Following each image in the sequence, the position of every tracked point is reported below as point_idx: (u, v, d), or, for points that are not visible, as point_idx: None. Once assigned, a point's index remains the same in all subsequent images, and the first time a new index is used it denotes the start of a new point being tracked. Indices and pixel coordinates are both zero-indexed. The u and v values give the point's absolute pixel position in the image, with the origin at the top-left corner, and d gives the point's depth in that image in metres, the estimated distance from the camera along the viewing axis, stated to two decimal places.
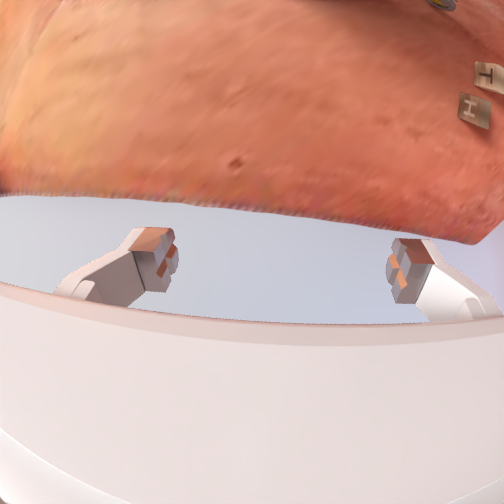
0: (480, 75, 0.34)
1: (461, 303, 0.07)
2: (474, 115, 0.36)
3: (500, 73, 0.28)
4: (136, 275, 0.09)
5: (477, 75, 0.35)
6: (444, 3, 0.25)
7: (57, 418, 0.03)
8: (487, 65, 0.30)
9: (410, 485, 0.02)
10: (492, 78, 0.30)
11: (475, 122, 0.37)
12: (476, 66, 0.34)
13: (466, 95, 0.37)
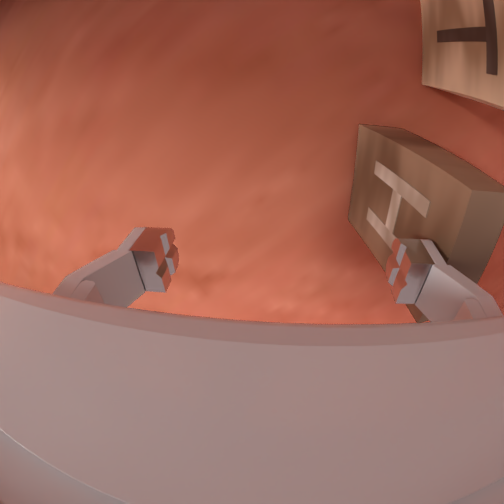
0: (443, 43, 0.08)
1: (461, 303, 0.07)
2: None
3: None
4: (136, 275, 0.09)
5: (432, 44, 0.09)
6: None
7: (57, 418, 0.03)
8: None
9: (410, 485, 0.02)
10: (497, 45, 0.04)
11: None
12: (426, 11, 0.08)
13: (383, 143, 0.11)
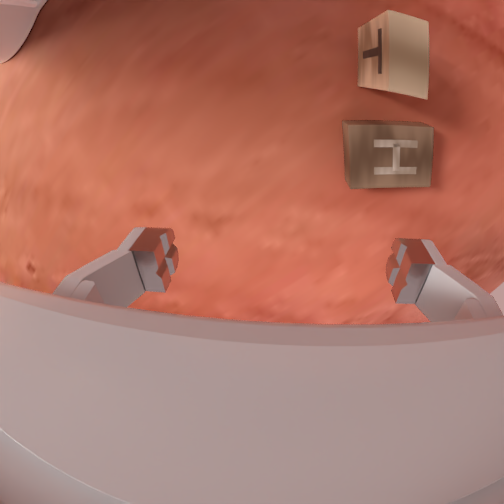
0: (365, 59, 0.18)
1: (461, 303, 0.07)
2: (415, 169, 0.22)
3: (404, 35, 0.12)
4: (136, 275, 0.09)
5: (361, 60, 0.19)
6: None
7: (57, 418, 0.03)
8: (373, 25, 0.14)
9: (410, 485, 0.02)
10: (381, 56, 0.14)
11: (420, 182, 0.23)
12: (359, 39, 0.18)
13: (378, 128, 0.21)
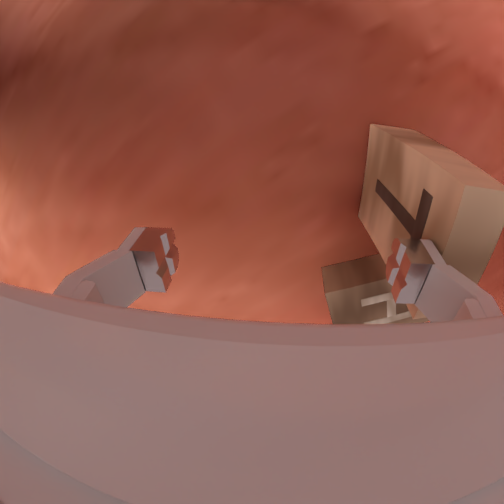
0: (380, 193, 0.14)
1: (461, 303, 0.07)
2: None
3: (471, 233, 0.07)
4: (136, 275, 0.09)
5: (371, 187, 0.14)
6: None
7: (57, 418, 0.03)
8: (411, 164, 0.10)
9: (409, 485, 0.02)
10: None
11: (422, 319, 0.19)
12: (372, 147, 0.14)
13: (365, 288, 0.17)
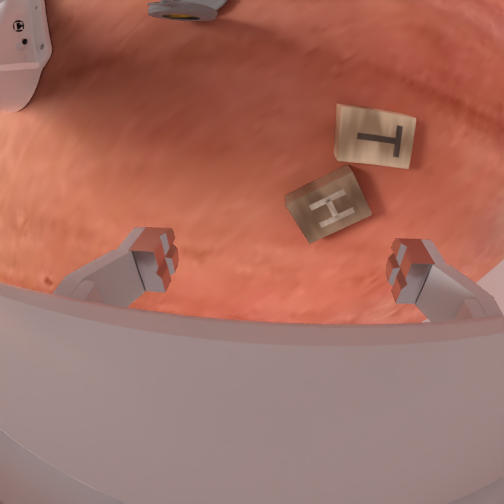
0: (359, 138, 0.26)
1: (461, 303, 0.07)
2: (352, 209, 0.31)
3: None
4: (136, 275, 0.09)
5: (350, 139, 0.26)
6: None
7: (57, 418, 0.03)
8: (386, 118, 0.24)
9: (409, 485, 0.02)
10: (400, 146, 0.25)
11: (361, 215, 0.31)
12: (347, 118, 0.25)
13: (308, 197, 0.31)
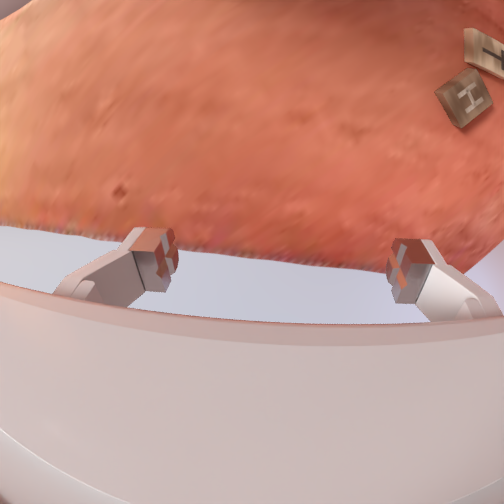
0: (483, 51, 0.20)
1: (461, 303, 0.07)
2: (481, 98, 0.25)
3: None
4: (136, 275, 0.09)
5: (479, 50, 0.20)
6: None
7: (57, 418, 0.03)
8: (495, 43, 0.18)
9: (409, 485, 0.02)
10: None
11: (487, 103, 0.25)
12: (476, 36, 0.19)
13: (455, 87, 0.25)
